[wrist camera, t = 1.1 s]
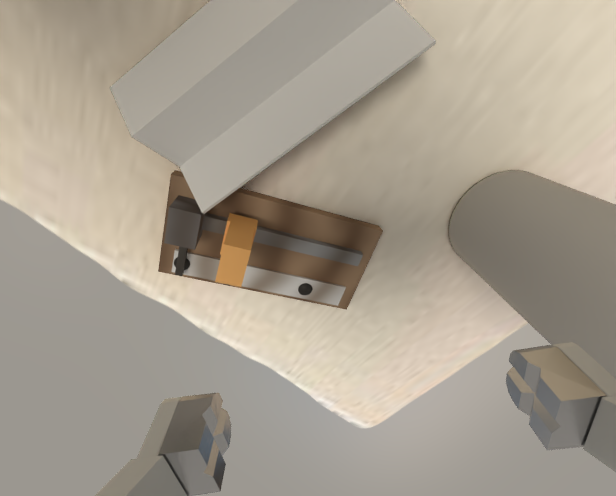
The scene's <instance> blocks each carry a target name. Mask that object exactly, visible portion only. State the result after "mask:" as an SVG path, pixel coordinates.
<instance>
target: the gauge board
mask: <svg viewBox="0 0 616 496" xmlns="http://www.w3.org/2000/svg"><path fill="white" fill-rule="evenodd" d="M230 213H232V214H236V215H240V216H244V217H248V218H252V219H256V220H258V223H257V230H256V233H255V237H254V241H253V244H252V248H251V253H250V256H249V260H248V264H247V268H246V271H245V275H244V279H243V282H242V286H241V287H238V286H233V285H230V286H233V287H238V288H243V289H248V290H253V291H258V292H263V293H268V294H273V295H278V296H283V297H288V298H293V299H298V300H303V301H308V302H312V303H317V304H322V305H327V306H332V307H337V308H342V309H347V307H348V305H349V303H350V301H351V299H352V296H353V294H354V292H355V290H356V288H357V286H358V283H359V281H360V279H361V277H362V275H363V273H364V271H365V268H366V266H367V264H368V262H369V260H370V258H371V255H372V253H373V251H374V249H375V247H376V245H377V243H378V240H379V238H380V236H381V234H382V232H383V231H382V229H381V228H380V227H379V226H377V225H374V224H370V223H366V222H363V221H359V220H355V219H352V218H348V217H344V216H341V215H337V214H333V213H330V212H326V211H322V210H319V209H315V208H311V207H308V206H304V205H300V204H297V203H293V202H289V201H286V200H282V199H278V198H275V197H271V196H267V195H264V194H260V193H256V192H253V191H249V190H245V189H241V188H239V189H237V190H236V191H235V192H233V193H232V194H230V195H229V196H228V197H226V198H225V199H224V200H222V201H221V202H220V203H218V204H217V205H215V206H214V207H213V208H211V209H210V210H209V211H207V212H206V213H205V214H204V213H202V212H201V210H200V208H199V206H198V204H197V202H196V200H195V198H194V196H193V194H192V192H191V190H190V188H189V185H188V183H187V181H186V179H185V177H184V175H183V173H182V172H179V171H174V172H173V173H172V174H171V179H170V186H169V194H168V202H167V209H166V217H165V224H164V232H163V240H162V247H161V255H160V262H159V270H158V271H159V272H164V273H169V274H174V275H179V276H184V277H188V278H193V279H198V280H203V281H208V282H213V283H218V282H215V280H216V275H217V271H218V267H219V262H220V258H221V255H220V251H221V247H222V242H223V238H224V233H225V229H226V225H227V220H228V217H229V214H230ZM218 284H223V283H218ZM223 285H224V284H223Z"/></svg>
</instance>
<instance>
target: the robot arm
mask: <svg viewBox="0 0 616 496" xmlns="http://www.w3.org/2000/svg"><path fill="white" fill-rule="evenodd" d="M509 362H510V363H511V364H512V366H513V367H512V368H511V369H510V370H509V371H508V372H507V377H506V384H507V388H508V392H509V394H510V396H511V398H512V400H513V402H514V403H515V405H516V406H517V408H518V409H519V410H521V411H523V412H524V413H526V414H527V415H529V416H530V421H529V425H530V427H531V428H532V429H533V431H534V432H535V434H536V435H537V436H538V438H539V439H540V441H541V442H542V444H543V445H544V447H545V448H546V449H547V450H555V449H565V448H575V447H583V449H584V450H585V451H587V452H589V453H590V454H591V455H592V456H594V457H595V458H597V459H598V460H599V461H601V462H602V463H604V464H605V465H606V466H608V467H609V468H611V469H612V470H613V471H615V472H616V379H615V378H614V377H613V376H612V375H611V374H610V373H609V372H608V371H606V370H605V369H604V368H603V367H602V366H601V365H600V364H599V363H598V362H597V361H595V360H594V359H593V358H592V357H591V356H590V355H589V354H588V353H587V352H585V351H584V350H583V349H582V348H581V347H580V346H579V345H577V344H575V343H573V342H569V343H562V344H555V345H547V346H540V347H533V348H528V349H521V350H514V351H513V352H512V353H511V354H510V358H509ZM222 402H223V400H222V398H221V396H220V394H219V393H211V394H201V395H192V396H183V397H177V398H168V399H165V400H164V401H163V402H162V403H161V404H160V406H159V408H158V411H157V413H156V415H155V418H154V420H153V422H152V424H151V427H150V429H149V431H148V434H147V436H146V438H145V440H144V443H143V445H142V447H141V450H140V452H139V454H138V456H137V459H131V460H130V461H129V462H128V463H127V464H126V465H125V466H124V467H123V468H122V469H121V470H120V471H119V472H118V473H117V474H116V475H115V476H114V477H113V478H112V479H111V480H110V481H109V482H108V483H107V484H106V485H105V486H104V487H103V488H102V489H101V490H100V491H99V492H98V493H97V494H96V495H95V496H194V495H200V494H207V493H213V492H219V491H221V485H222V480H223V475H224V470H225V465H226V464H225V461H224V459H223V457H222V455H223V454H224V453H225V452H226V450H227V449H228V448H229V444H230V438H231V422H230V417H229V414H228V412H227V411H226V410H224V409H223V408H221V407H222Z"/></svg>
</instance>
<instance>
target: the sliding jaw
mask: <svg viewBox="0 0 616 496" xmlns="http://www.w3.org/2000/svg"><path fill="white" fill-rule="evenodd" d="M257 223H258V220H256V219H252V218H248V217H244V216H240V215H236V214H232V213H230V214H229V217H228V220H227V225H226V229H225V233H224V238H223V242H222V247H221V251H220V255H221V258H220V262H219V267H218V271H217V275H216V280H215V282H218V283H223V284H224V285H228V286H230V285H233V286H238V287H241V286H242V282H243V279H244V275H245V271H246V268H247V264H248V260H249V256H250V253H251V248H252V244H253V241H254V237H255V233H256V230H257Z"/></svg>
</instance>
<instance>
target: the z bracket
mask: <svg viewBox="0 0 616 496" xmlns="http://www.w3.org/2000/svg"><path fill="white" fill-rule="evenodd" d="M435 43H436V40H435V39H434V38H433V37H432V36H431V35H430V34H429V33H428V32H427V31H426V30H425V29H424V28H423V27H422V26H421V25H420V24H419V23H418V22H417V21H416V20H415V19H414V18H413V17H412V16H411V15H410V14H409V13H408V12H407V11H406V10H405V9H404V8H403V7H402V6H401V5H400V4H399V3H398V2H396V1H395V0H210V1H209V2H208V3H207V4H206V5H204V6H203V7H202V8H201V9H200V10H199V11H197V12H196V13H195V14H194V15H193V16H192V17H191V18H189V19H188V20H187V21H186V22H185V23H184V24H182V25H181V26H180V27H179V28H178V29H177V30H175V31H174V32H173V33H172V34H171V35H170V36H169V37H167V38H166V39H165V40H164V41H163V42H162V43H160V44H159V45H158V46H157V47H156V48H155V49H153V50H152V51H151V52H150V53H149V54H148V55H147V56H145V57H144V58H143V59H142V60H141V61H140V62H138V63H137V64H136V65H135V66H134V67H133V68H131V69H130V70H129V71H128V72H127V73H126V74H125V75H123V76H122V77H121V78H120V79H119V80H118V81H116V82H115V83H114V84H113V85H112V86H111V87H110V90H111V92H112V94H113V96H114V99H115V101H116V103H117V105H118V108H119V110H120V112H121V114H122V117H123V119H124V121H125V123H126V126H127V128H128V130H129V132H130V135H131V137H132V138H134V139H136V140H137V141H139V142H140V143H142V144H144V145H145V146H147V147H148V148H150V149H152V150H153V151H155V152H156V153H158V154H160V155H161V156H163V157H164V158H166V159H168V160H169V161H171V162H172V163H174V164H176V165H177V166H179V167H180V169H181V171H182V173H183V175H184V177H185V179H186V181H187V183H188V185H189V188H190V190H191V192H192V194H193V196H194V198H195V200H196V202H197V204H198V206H199V208H200V210H201V212H202V213H204V214H205V213H206V212H207V211H209V210H210V209H211V208H213V207H214V206H215V205H217V204H218V203H220V202H221V201H222V200H224V199H225V198H226V197H228V196H229V195H230V194H232V193H233V192H235V191H236V190H237V189H239V188H240V187H241V186H243V185H244V184H245V183H247V182H248V181H249V180H251V179H252V178H254V177H255V176H256V175H258V174H259V173H260V172H262V171H263V170H264V169H266V168H267V167H269V166H270V165H271V164H273V163H274V162H275V161H277V160H278V159H279V158H281V157H282V156H284V155H285V154H286V153H288V152H289V151H290V150H292V149H293V148H294V147H296V146H297V145H298V144H300V143H301V142H303V141H304V140H305V139H307V138H308V137H309V136H311V135H312V134H313V133H315V132H316V131H318V130H319V129H320V128H322V127H323V126H324V125H326V124H327V123H328V122H330V121H331V120H333V119H334V118H335V117H337V116H338V115H339V114H341V113H342V112H343V111H345V110H346V109H347V108H349V107H350V106H352V105H353V104H354V103H356V102H357V101H358V100H360V99H361V98H362V97H364V96H365V95H367V94H368V93H369V92H371V91H372V90H373V89H375V88H376V87H377V86H379V85H380V84H382V83H383V82H384V81H386V80H387V79H388V78H390V77H391V76H392V75H394V74H395V73H396V72H398V71H399V70H401V69H402V68H403V67H405V66H406V65H407V64H409V63H410V62H411V61H413V60H414V59H416V58H417V57H418V56H420V55H421V54H422V53H424V52H425V51H426V50H428V49H429V48H431V47H432V46H433V45H435Z"/></svg>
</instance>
